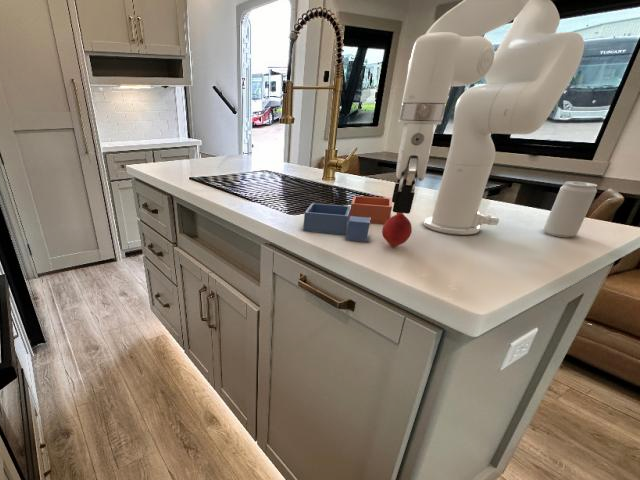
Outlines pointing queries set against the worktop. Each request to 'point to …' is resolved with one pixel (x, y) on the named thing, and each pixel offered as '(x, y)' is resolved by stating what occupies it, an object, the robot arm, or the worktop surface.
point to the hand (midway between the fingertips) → (400, 207)
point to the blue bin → (327, 218)
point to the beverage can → (570, 208)
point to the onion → (397, 230)
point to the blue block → (358, 228)
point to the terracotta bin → (371, 208)
